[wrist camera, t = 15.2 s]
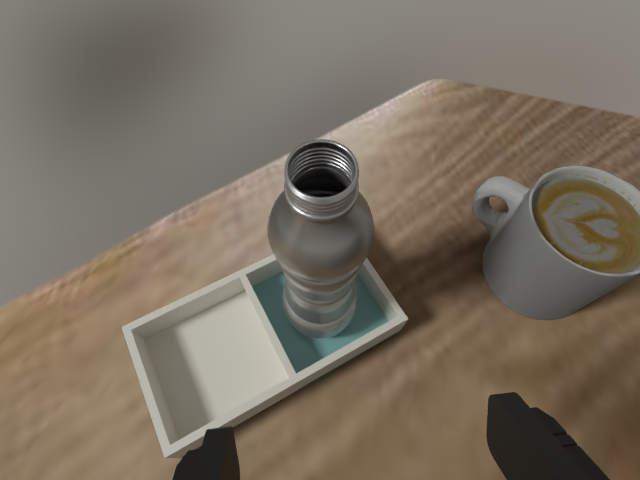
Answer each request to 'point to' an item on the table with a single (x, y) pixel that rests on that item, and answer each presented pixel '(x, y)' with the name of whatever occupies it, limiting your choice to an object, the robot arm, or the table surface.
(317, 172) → the grey metal bottle
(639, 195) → the coffee mug
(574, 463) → the robot arm
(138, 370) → the divided tray
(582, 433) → the table surface
